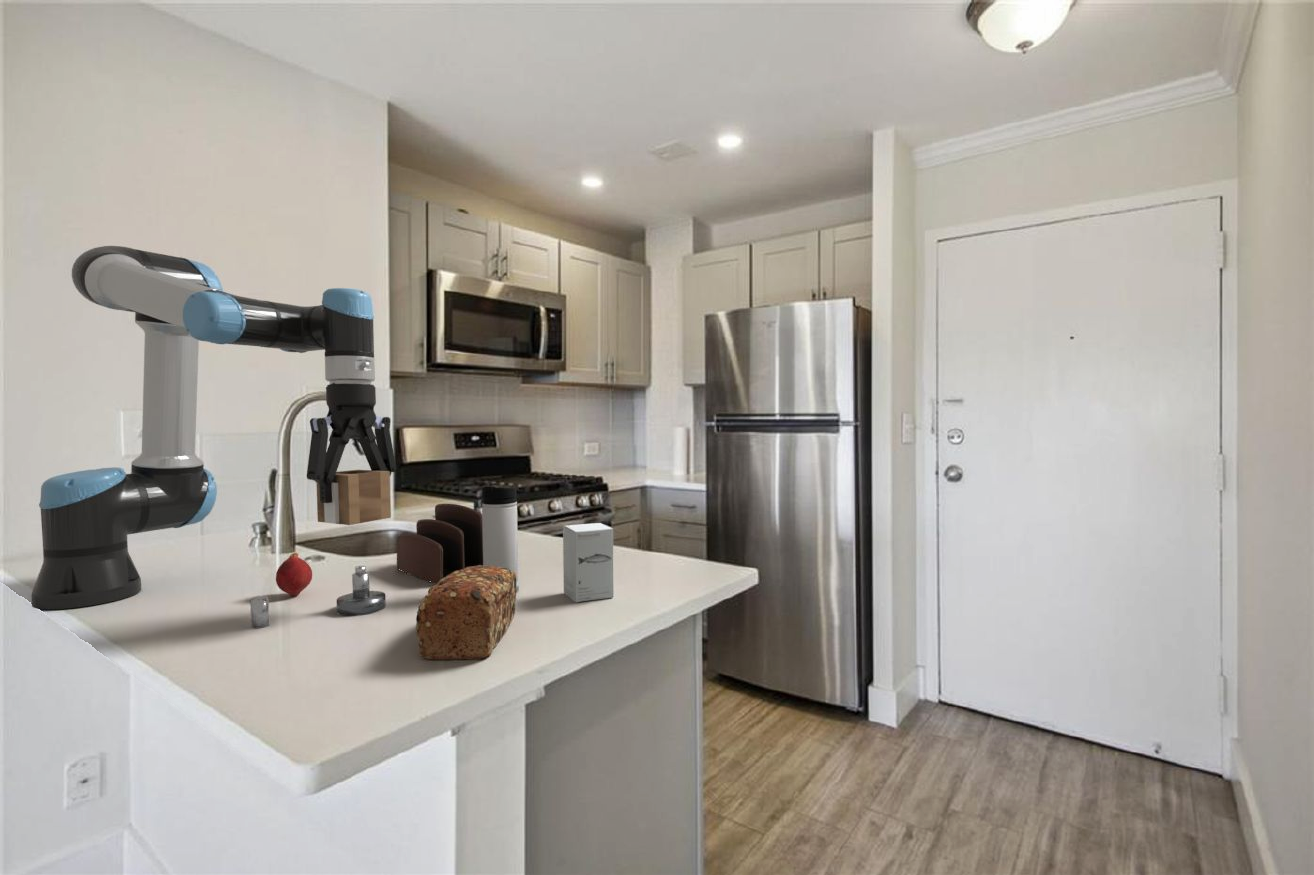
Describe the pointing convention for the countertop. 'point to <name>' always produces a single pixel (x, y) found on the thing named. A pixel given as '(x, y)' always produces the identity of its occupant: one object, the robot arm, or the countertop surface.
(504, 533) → the travel mug
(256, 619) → the grey rounded piece
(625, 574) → the countertop surface
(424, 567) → the letter holder
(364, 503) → the collar
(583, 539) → the supplement box
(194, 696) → the countertop surface
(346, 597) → the hub
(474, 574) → the bread
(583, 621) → the countertop surface
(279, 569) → the onion
